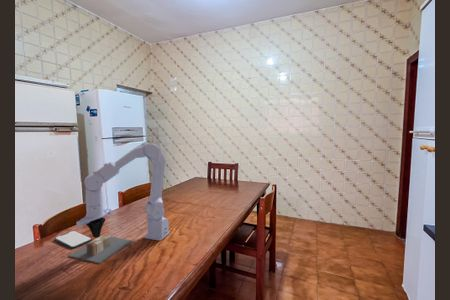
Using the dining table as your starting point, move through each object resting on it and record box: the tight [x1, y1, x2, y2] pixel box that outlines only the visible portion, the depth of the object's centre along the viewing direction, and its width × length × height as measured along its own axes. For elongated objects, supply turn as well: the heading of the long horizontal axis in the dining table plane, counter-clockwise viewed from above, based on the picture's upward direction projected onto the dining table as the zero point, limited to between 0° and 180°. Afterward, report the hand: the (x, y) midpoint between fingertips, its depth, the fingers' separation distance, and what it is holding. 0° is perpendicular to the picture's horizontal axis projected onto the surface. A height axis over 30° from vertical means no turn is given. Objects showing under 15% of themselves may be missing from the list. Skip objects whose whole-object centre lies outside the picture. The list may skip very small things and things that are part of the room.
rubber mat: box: [68, 236, 133, 265], centre depth 91 cm, size 16×17×1 cm
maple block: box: [85, 234, 111, 255], centre depth 90 cm, size 4×4×8 cm
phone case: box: [54, 230, 93, 250], centre depth 98 cm, size 9×2×16 cm
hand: (96, 236), depth 88 cm, fingers closed
